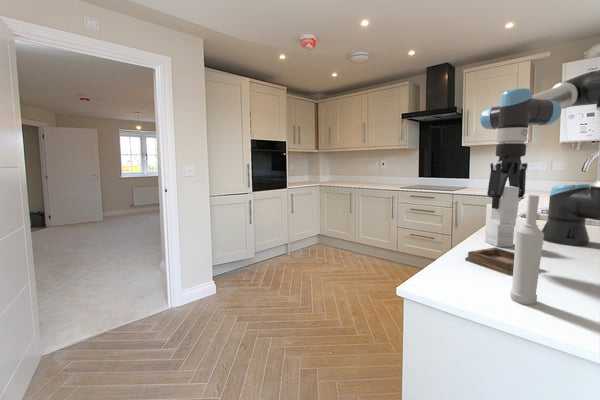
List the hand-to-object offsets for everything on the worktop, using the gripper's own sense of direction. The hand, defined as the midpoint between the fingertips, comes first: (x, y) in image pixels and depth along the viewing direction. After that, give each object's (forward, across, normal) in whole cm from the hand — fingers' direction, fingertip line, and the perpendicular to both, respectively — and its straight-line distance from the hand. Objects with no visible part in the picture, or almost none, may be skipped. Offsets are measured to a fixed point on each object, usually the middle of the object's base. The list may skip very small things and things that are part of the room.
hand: (504, 218), depth 96 cm
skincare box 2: (+15, +22, +16) cm, 31 cm away
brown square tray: (+15, 0, 0) cm, 15 cm away
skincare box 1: (+2, 0, 0) cm, 2 cm away
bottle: (+15, -20, -19) cm, 31 cm away
